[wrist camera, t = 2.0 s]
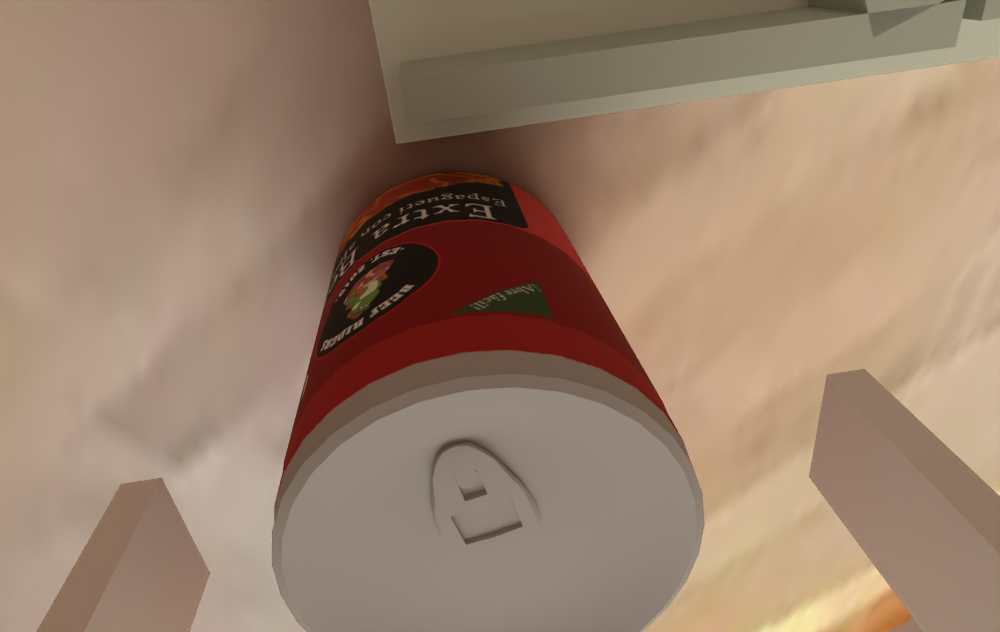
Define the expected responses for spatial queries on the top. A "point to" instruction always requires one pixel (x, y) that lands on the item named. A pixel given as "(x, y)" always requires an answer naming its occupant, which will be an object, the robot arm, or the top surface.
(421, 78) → the grey miter box
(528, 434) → the canned food
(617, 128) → the top surface
